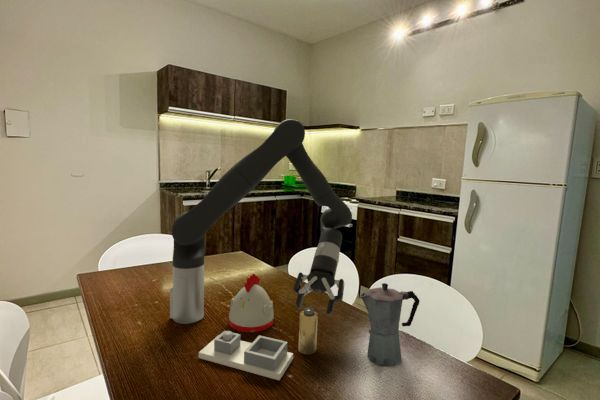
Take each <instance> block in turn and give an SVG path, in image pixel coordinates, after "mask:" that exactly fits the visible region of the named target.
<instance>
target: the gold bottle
mask: <svg viewBox="0 0 600 400" xmlns="http://www.w3.org/2000/svg"><path fill="white" fill-rule="evenodd" d="M318 318H319V313H318V312H316V311H315V309H314V308H313V307H304V308H303V310H302V311H300V312H299V324H298V325H299V327H298V352H299V353H300V354H303V355H313V354H315V353H316V352H317V339H318V337H317V336H318V321H319V319H318Z"/></svg>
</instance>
